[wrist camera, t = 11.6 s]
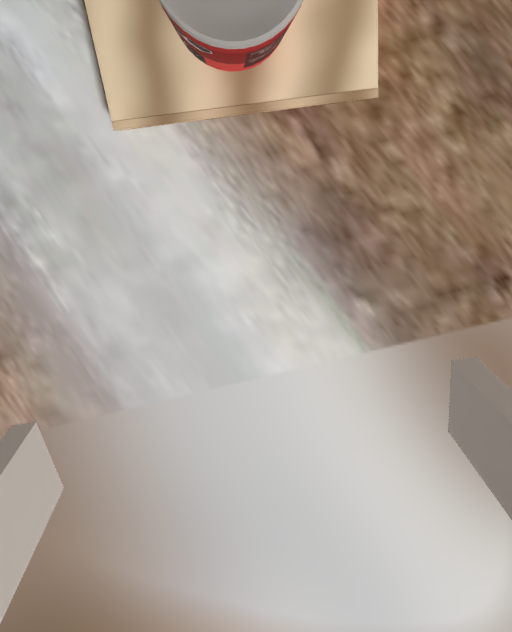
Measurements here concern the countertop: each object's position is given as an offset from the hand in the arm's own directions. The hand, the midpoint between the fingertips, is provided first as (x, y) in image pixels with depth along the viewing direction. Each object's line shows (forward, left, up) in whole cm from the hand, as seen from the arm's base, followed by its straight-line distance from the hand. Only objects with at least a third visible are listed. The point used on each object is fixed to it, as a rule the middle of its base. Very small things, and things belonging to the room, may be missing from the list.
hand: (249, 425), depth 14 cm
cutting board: (+2, +16, -27) cm, 31 cm away
